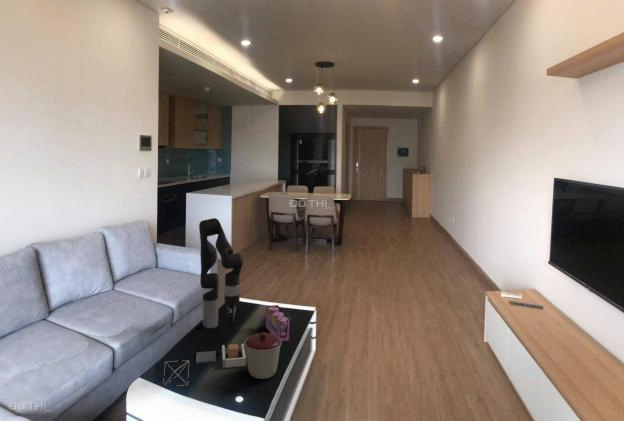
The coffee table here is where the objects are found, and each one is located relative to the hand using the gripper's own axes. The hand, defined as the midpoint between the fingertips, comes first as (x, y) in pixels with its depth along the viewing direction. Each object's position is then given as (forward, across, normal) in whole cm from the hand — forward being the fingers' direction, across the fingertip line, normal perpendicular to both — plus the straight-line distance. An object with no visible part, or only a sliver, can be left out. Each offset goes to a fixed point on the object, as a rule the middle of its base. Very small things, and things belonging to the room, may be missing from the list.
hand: (231, 324), depth 203 cm
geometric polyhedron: (+21, +17, -24) cm, 36 cm away
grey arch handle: (+20, -4, +1) cm, 21 cm away
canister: (+21, +11, +16) cm, 29 cm away
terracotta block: (+20, -8, 0) cm, 22 cm away
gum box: (+20, -34, +24) cm, 46 cm away
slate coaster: (+20, -6, -14) cm, 25 cm away
